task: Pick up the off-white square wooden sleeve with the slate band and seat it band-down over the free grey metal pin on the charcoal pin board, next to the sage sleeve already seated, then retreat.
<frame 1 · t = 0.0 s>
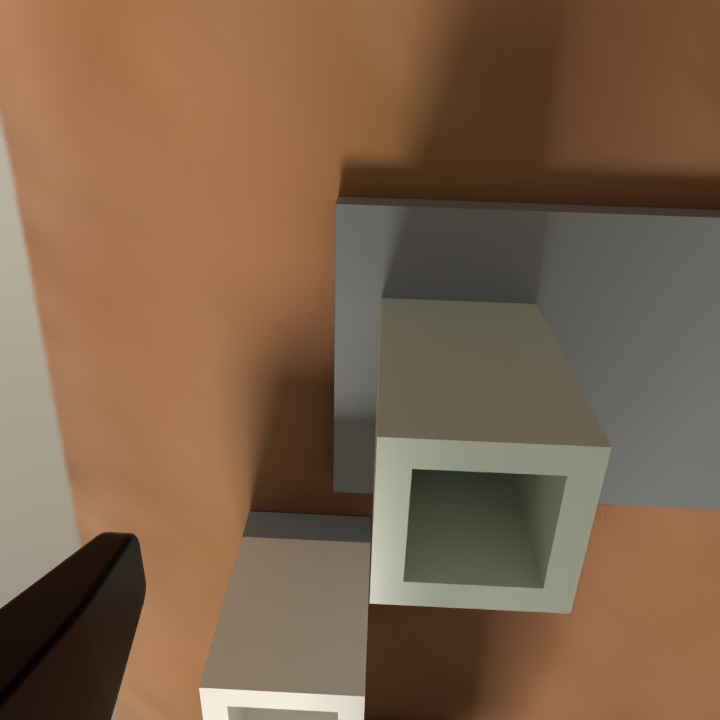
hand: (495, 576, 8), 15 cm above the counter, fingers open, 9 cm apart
pin board: (619, 363, 23), on the counter
sleeve: (310, 559, 28), on the counter
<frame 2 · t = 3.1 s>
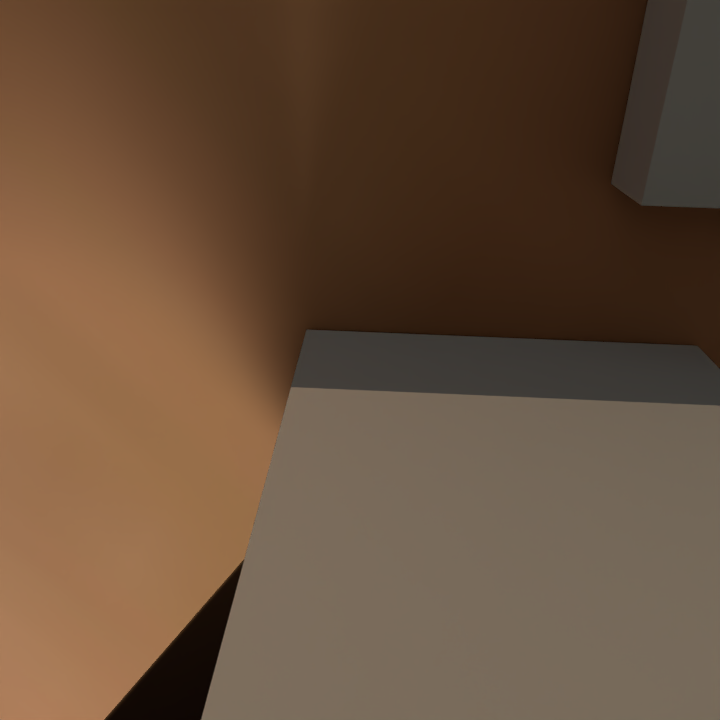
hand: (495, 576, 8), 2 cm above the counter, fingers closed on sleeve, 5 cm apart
sleeve: (478, 492, 10), on the counter, touching gripper
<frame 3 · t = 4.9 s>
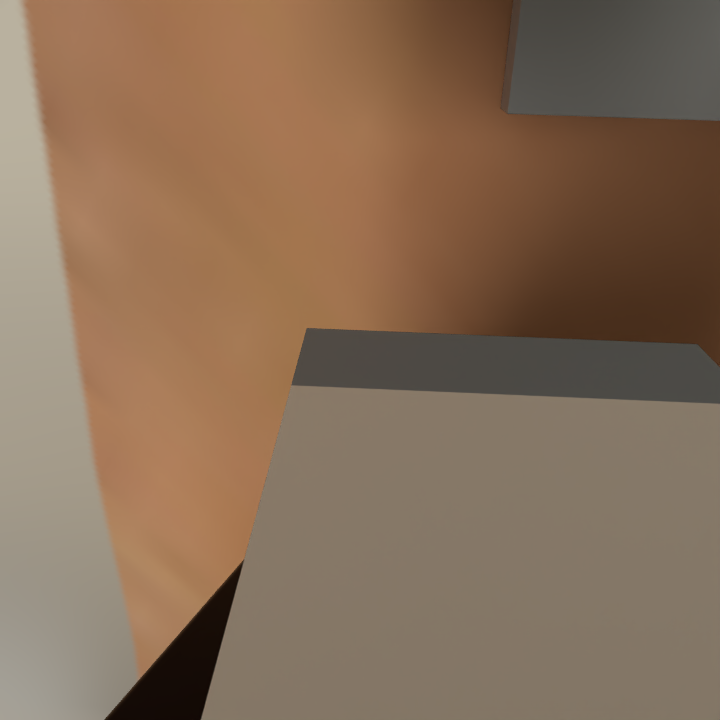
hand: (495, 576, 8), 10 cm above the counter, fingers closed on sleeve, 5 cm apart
sleeve: (479, 490, 10), point 8 cm above the counter, touching gripper
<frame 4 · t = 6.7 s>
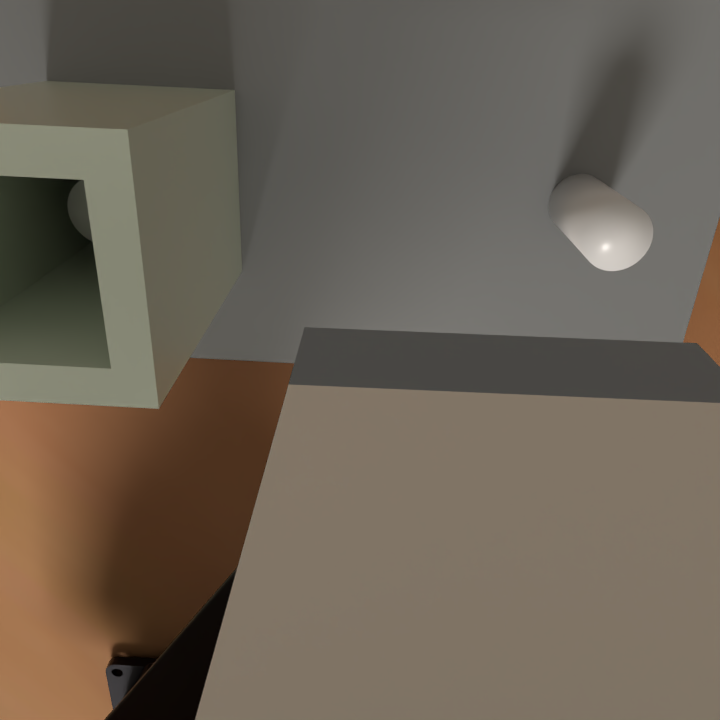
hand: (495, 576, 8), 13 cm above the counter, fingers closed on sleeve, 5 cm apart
pin board: (364, 184, 19), on the counter
sleeve: (477, 490, 9), point 12 cm above the counter, touching gripper
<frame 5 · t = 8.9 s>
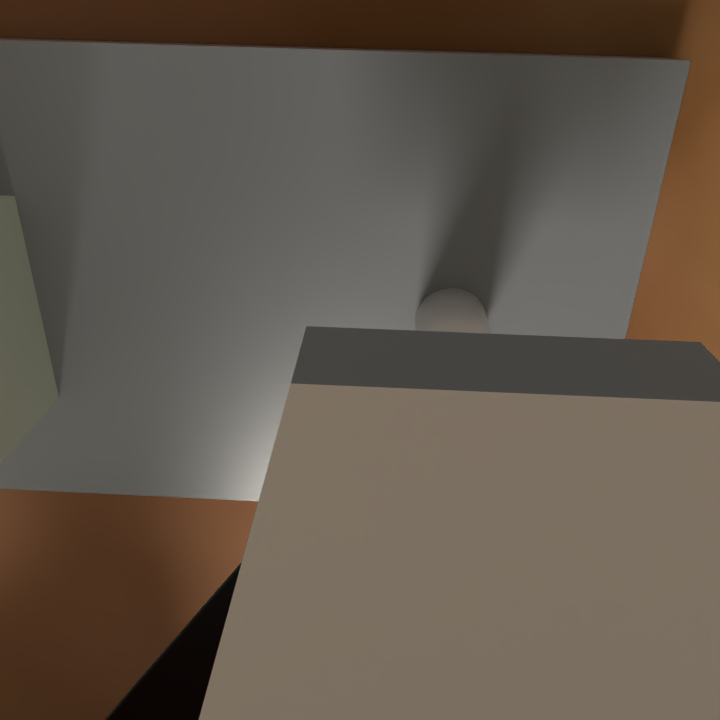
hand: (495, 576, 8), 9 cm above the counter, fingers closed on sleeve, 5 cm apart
pin board: (199, 294, 16), on the counter
sleeve: (479, 490, 9), point 7 cm above the counter, touching gripper
when the fingers open (4 cm above the counter, at t = 10.8 s): sleeve stays where it is, resting on pin board.
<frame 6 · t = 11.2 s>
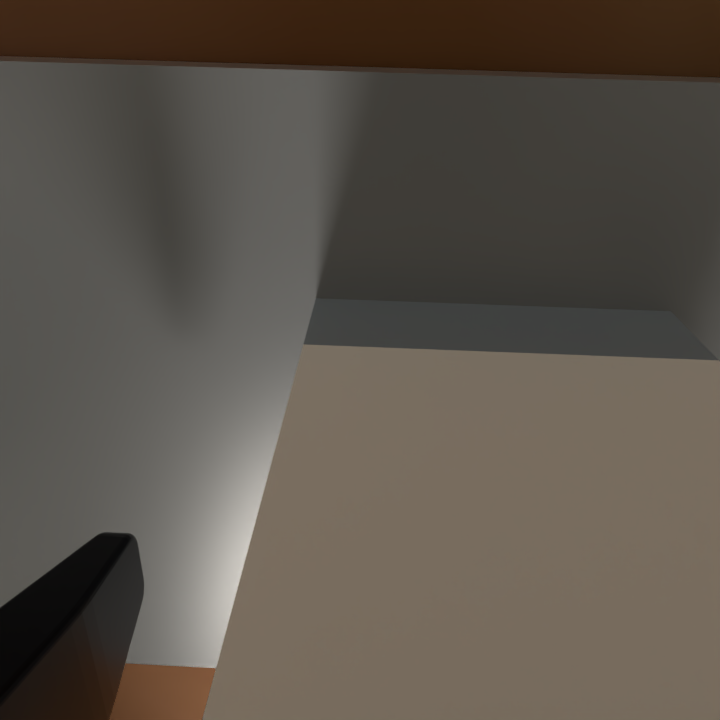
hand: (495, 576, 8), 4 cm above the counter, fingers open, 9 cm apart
pin board: (123, 403, 11), on the counter
sleeve: (473, 450, 10), point 1 cm above the counter, touching pin board
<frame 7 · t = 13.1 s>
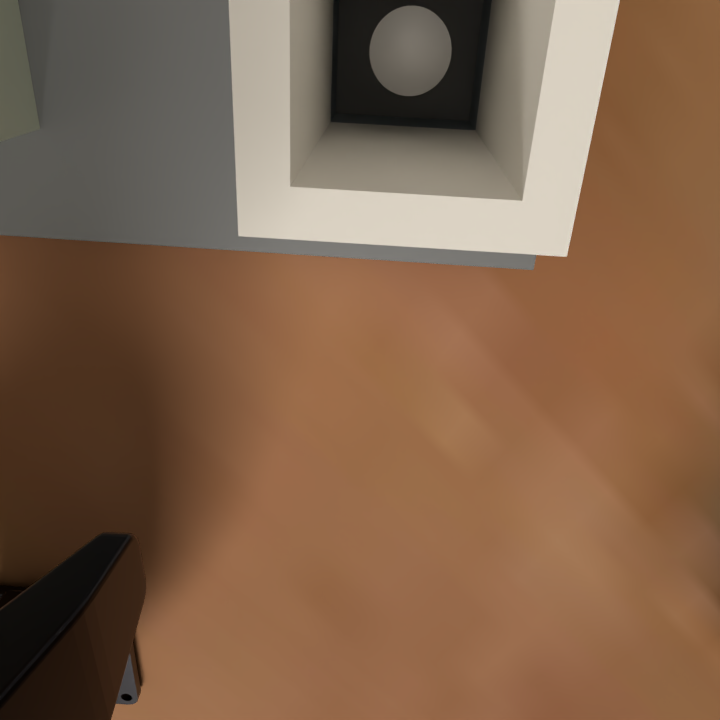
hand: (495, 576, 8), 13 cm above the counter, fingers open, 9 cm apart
pin board: (175, 29, 17), on the counter
sleeve: (407, 43, 16), point 1 cm above the counter, touching pin board
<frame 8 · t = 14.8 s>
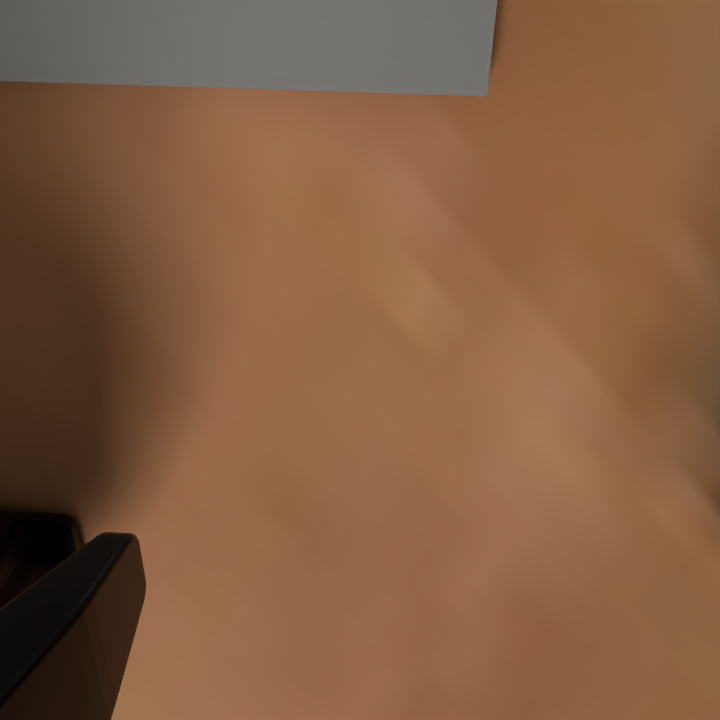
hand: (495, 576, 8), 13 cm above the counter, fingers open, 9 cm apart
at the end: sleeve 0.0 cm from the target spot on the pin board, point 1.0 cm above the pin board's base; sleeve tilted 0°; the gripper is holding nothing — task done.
